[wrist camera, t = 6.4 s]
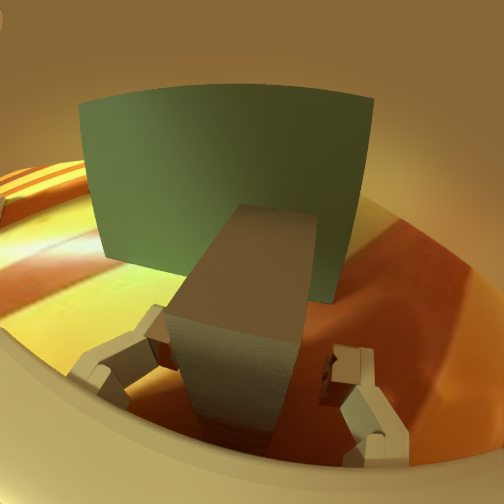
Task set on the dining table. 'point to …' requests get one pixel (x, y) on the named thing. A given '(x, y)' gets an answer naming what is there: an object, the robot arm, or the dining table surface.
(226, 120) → the coin box
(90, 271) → the dining table surface
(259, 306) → the brown upright bar
